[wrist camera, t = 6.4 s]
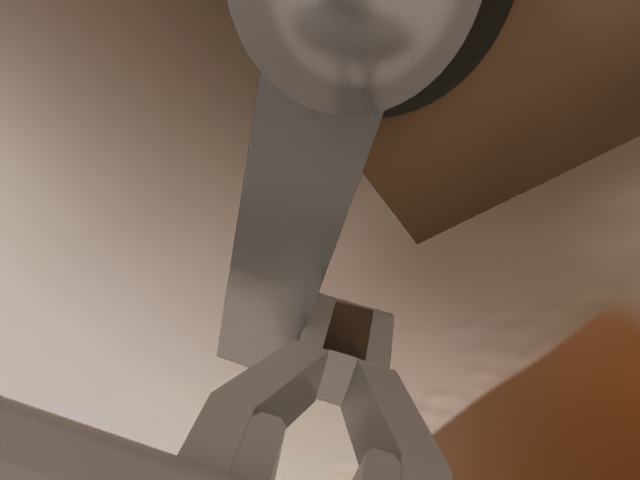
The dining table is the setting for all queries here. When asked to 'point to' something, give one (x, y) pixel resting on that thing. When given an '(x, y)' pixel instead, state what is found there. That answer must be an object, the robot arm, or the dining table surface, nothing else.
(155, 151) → the dining table surface
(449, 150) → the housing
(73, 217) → the dining table surface
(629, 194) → the dining table surface
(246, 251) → the lever handle
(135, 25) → the dining table surface
